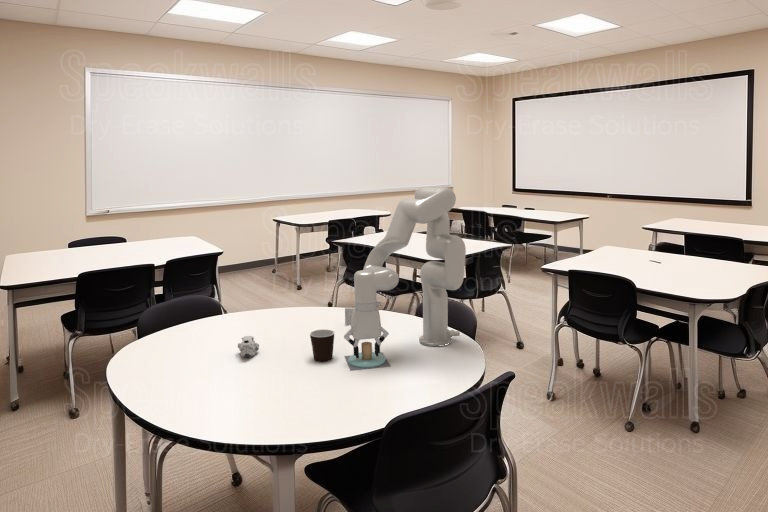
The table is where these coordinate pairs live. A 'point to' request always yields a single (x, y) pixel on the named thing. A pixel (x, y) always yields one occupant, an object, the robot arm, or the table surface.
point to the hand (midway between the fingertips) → (366, 355)
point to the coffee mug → (322, 344)
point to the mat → (366, 368)
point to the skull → (248, 346)
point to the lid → (367, 357)
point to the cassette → (348, 316)
